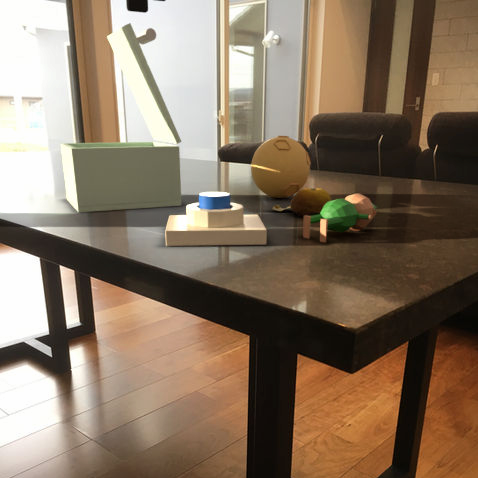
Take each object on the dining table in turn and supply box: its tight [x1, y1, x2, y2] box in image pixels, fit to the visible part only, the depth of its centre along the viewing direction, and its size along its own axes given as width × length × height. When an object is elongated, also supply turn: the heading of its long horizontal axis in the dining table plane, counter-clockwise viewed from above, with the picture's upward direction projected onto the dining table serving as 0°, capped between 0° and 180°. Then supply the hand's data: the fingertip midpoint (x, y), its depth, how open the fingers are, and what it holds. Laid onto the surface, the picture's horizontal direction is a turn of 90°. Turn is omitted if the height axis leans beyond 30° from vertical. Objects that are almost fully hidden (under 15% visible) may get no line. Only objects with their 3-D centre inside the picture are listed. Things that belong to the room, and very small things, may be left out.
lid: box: [106, 22, 182, 145], centre depth 79 cm, size 16×13×5 cm
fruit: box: [272, 187, 332, 218], centre depth 74 cm, size 8×8×4 cm
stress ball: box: [250, 135, 312, 199], centre depth 87 cm, size 10×10×10 cm
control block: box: [164, 202, 268, 247], centre depth 60 cm, size 11×9×4 cm
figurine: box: [302, 193, 378, 244], centre depth 62 cm, size 4×7×12 cm
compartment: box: [60, 141, 182, 213], centre depth 81 cm, size 16×13×9 cm
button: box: [198, 191, 231, 210], centre depth 59 cm, size 4×4×2 cm
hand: (145, 6), depth 75 cm, fingers open, 9 cm apart
